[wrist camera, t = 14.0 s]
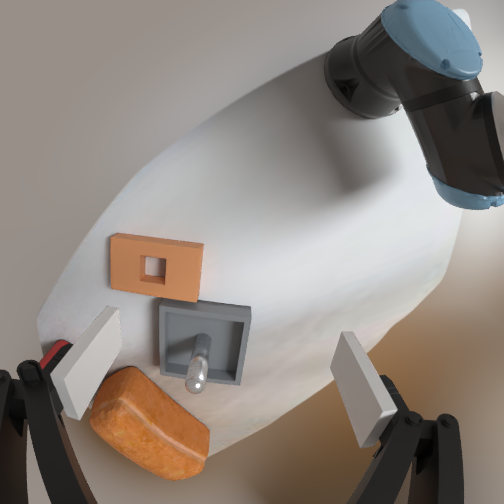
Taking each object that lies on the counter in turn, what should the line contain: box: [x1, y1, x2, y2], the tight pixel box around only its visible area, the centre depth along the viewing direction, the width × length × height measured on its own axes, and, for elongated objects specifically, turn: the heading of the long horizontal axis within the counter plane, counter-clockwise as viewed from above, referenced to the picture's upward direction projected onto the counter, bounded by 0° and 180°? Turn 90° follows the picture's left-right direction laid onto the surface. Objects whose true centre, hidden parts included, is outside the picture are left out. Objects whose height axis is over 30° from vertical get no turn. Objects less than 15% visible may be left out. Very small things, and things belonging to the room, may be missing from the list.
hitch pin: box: [185, 333, 212, 394], centre depth 43 cm, size 3×3×14 cm
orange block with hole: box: [110, 233, 204, 303], centre depth 45 cm, size 15×9×3 cm, turn 82°
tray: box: [159, 298, 251, 385], centre depth 48 cm, size 15×15×4 cm
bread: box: [89, 367, 210, 481], centre depth 48 cm, size 14×26×16 cm, turn 35°
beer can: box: [39, 340, 69, 369], centre depth 45 cm, size 7×7×12 cm
